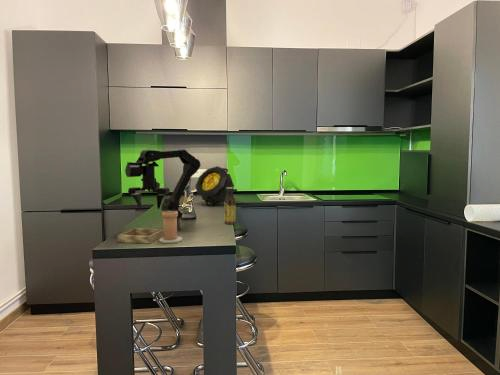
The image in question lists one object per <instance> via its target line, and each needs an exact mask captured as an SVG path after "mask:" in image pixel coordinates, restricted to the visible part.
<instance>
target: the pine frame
mask: <svg viewBox="0 0 500 375" xmlns="http://www.w3.org/2000/svg"><path fill="white" fill-rule="evenodd" d="M162 237H163V228H135V227H134V228H131V229H129V230H127V231H125V232H122V233H120V234H117V243H127V244H128V243H129V244H152V243H153V242H155V241H158V240H159V238H162Z"/></svg>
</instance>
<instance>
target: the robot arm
mask: <svg viewBox="0 0 500 375" xmlns="http://www.w3.org/2000/svg"><path fill="white" fill-rule="evenodd" d="M173 158H178V159H179V160H180V162H181V163H182V164H183V166H182V174H181V175H180V178H179V180H178V181H177V183H176V185H175V187H174V189H173V191H172V193H171V192H170V188H169V187H161V183H159V182H158V181H157V178H156V173H155V169H156V168H157V167H160V165H159V164H158V163H157V161H160V160H163V159H173ZM126 162H127V163H126V166H125V169H124V172H125V176H126V178H137V177H139V178H140V177H141V176H142V177H141V178H140V179H141V180H140V181H142V183H141V184H142V187H140V186H139V187H138V186H133V187H129V188H128V190H127V194H128V195H130V196H131V197H132V198H133V200H134V201H135V202H136V204H137V206H138V208H139V209H141V210H142V193H143V194H144V193H145V194H146V193H147V194H153V193H154V194H157V195H156V206H157V208H156V209H157V210H159V209H161V213H162V212H163V211H168V210H174V211H178V216H177V232H178V231H179V230H181V229H182V227H181V219H182V217H183V212H182V211H181V210H179V209H180V200H181V198H182V196H183V194H184V192H185V191H186V188H187V187H188V184H189V183H190V180H191V178H192V177H193V175H195V174H196V173H197V172H198V171H199V169H200V168H201V167H202V166H201V162H200V160H199V159H198V158H196V157H195V156H194V155H192V154H190V152H188V150H186V149H183V148H181V149H174V150H173V149H172V150H171V149H170V150H155V149H143V150H141V152H139V157H138V158H137V160H136V161H135V162H131V161H129V162H128V161H126ZM155 167H156V168H155ZM170 193H171V195H170V197H169V198H166V196H167V195H168V194H170ZM162 202H163V203H162ZM160 207H161V208H160Z"/></svg>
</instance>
